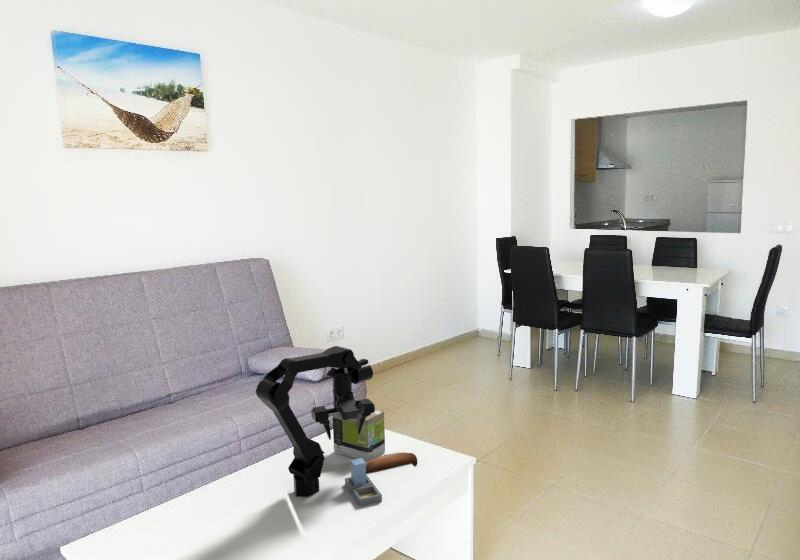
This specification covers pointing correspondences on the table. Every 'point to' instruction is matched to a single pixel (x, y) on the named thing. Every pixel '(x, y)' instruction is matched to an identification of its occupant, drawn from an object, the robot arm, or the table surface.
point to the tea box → (360, 436)
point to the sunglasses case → (390, 461)
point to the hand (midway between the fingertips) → (344, 436)
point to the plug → (358, 472)
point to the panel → (364, 492)
